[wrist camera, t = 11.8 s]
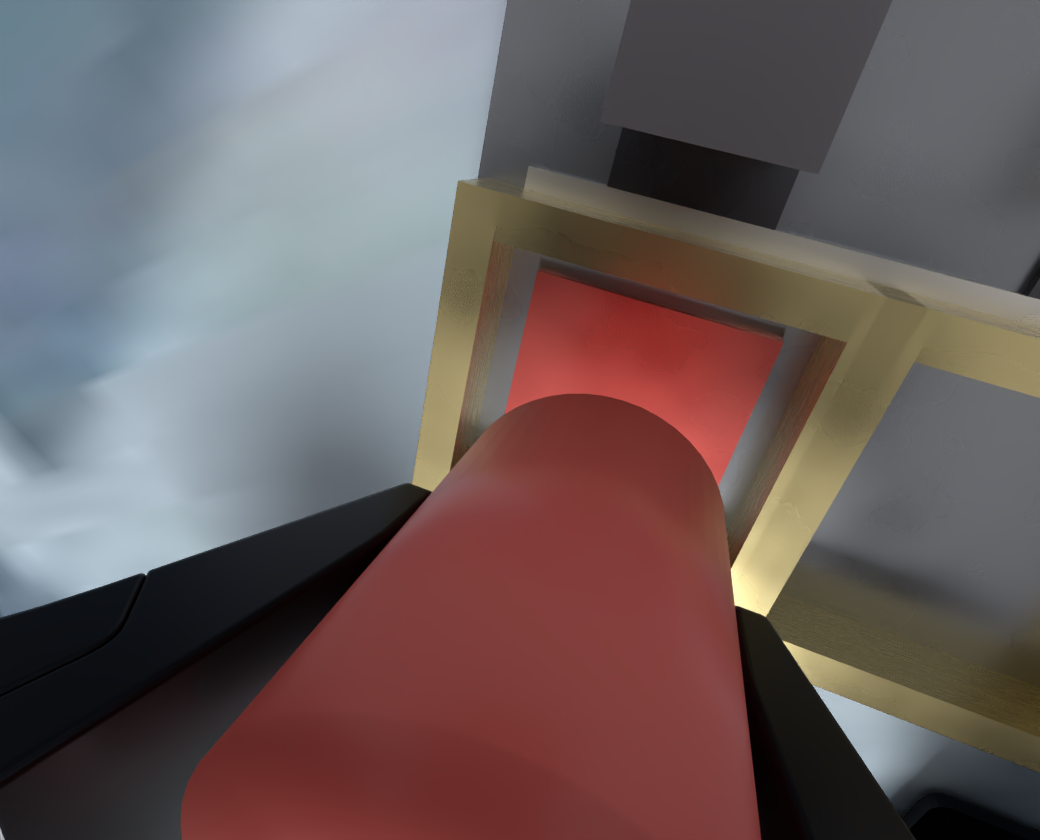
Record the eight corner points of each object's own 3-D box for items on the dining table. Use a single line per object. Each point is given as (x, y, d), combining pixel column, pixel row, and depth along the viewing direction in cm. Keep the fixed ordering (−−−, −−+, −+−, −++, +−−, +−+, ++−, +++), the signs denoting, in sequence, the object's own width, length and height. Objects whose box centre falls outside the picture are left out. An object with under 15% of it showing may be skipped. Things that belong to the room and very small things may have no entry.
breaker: (847, 12, 8) (921, -66, 5) (785, 167, 9) (819, 174, 6) (676, -20, 9) (658, -111, 6) (634, 131, 10) (600, 120, 7)
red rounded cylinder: (772, 447, 8) (931, 932, 3) (670, 664, 9) (648, 1214, 4) (487, 357, 8) (174, 609, 3) (439, 576, 10) (184, 967, 5)
